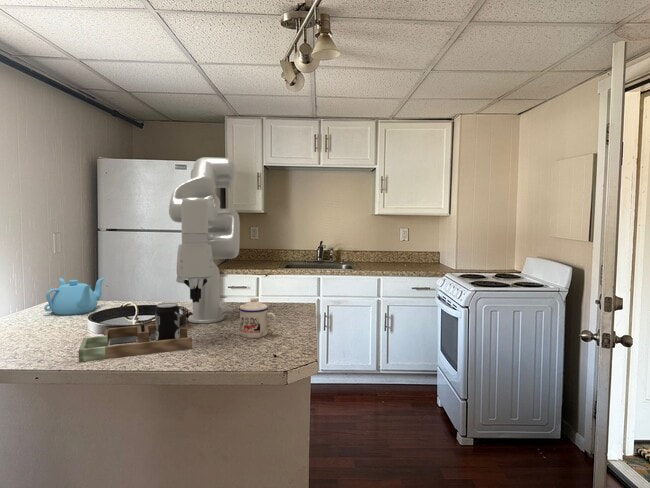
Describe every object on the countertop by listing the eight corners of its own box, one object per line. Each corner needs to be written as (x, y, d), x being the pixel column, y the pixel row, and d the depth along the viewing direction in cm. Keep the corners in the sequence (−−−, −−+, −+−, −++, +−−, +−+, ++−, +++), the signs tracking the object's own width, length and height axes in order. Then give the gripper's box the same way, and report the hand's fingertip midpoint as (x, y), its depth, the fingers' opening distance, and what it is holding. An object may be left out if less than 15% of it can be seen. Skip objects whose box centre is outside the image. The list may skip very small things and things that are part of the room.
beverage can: (172, 349, 119) (171, 307, 118) (151, 347, 120) (150, 306, 119) (184, 342, 125) (183, 302, 125) (164, 340, 127) (163, 301, 126)
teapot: (106, 305, 174) (105, 276, 174) (91, 316, 156) (90, 283, 155) (60, 306, 171) (59, 277, 170) (39, 318, 153) (38, 284, 152)
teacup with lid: (234, 337, 131) (234, 300, 130) (245, 329, 140) (245, 295, 139) (271, 340, 128) (271, 302, 128) (280, 332, 137) (280, 296, 136)
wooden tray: (184, 330, 138) (184, 321, 138) (192, 348, 120) (191, 338, 120) (86, 340, 126) (86, 330, 126) (79, 361, 108) (78, 350, 108)
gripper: (218, 239, 130) (218, 297, 131) (167, 239, 124) (167, 301, 125) (223, 239, 123) (223, 301, 124) (169, 240, 117) (169, 305, 118)
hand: (195, 301), depth 125 cm, fingers closed
